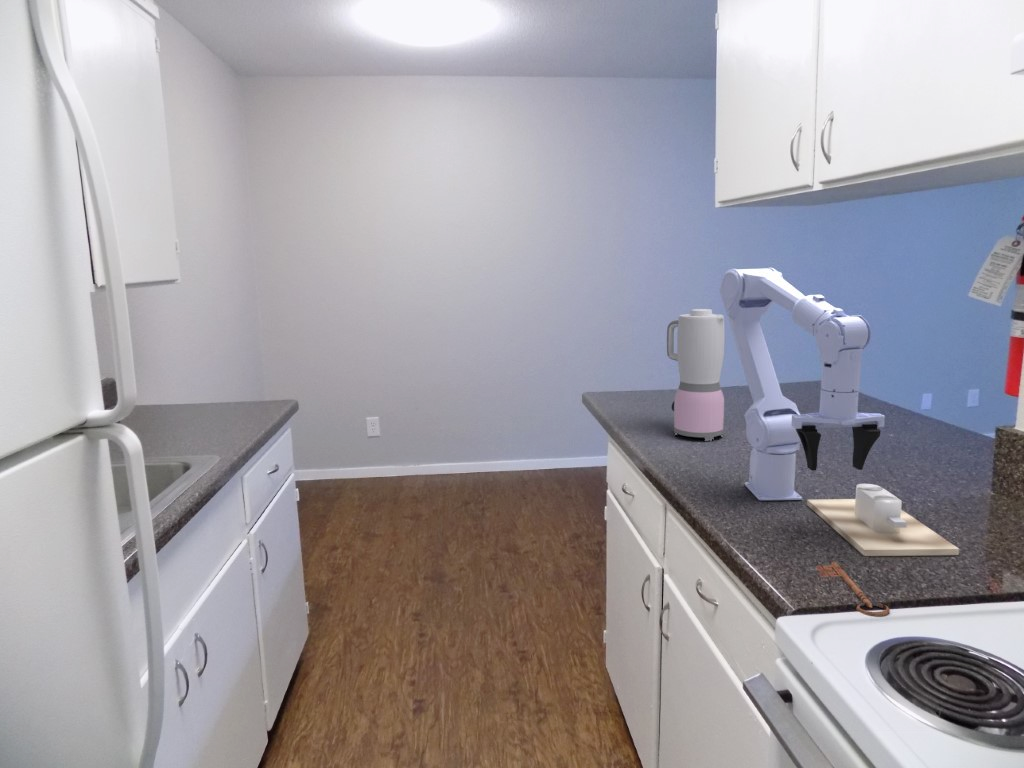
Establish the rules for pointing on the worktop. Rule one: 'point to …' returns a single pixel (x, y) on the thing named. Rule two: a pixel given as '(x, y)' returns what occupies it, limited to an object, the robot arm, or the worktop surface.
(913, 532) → the pad
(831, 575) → the key
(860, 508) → the plug
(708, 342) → the blender
